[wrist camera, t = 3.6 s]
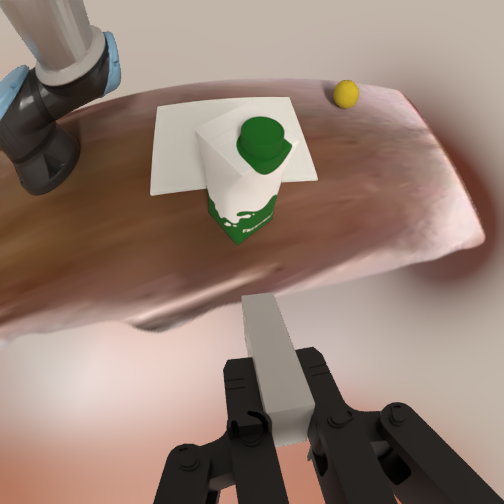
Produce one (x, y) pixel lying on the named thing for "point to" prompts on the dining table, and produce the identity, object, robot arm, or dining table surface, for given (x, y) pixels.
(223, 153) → the soya milk
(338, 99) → the lemon
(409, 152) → the dining table surface
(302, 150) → the mat
